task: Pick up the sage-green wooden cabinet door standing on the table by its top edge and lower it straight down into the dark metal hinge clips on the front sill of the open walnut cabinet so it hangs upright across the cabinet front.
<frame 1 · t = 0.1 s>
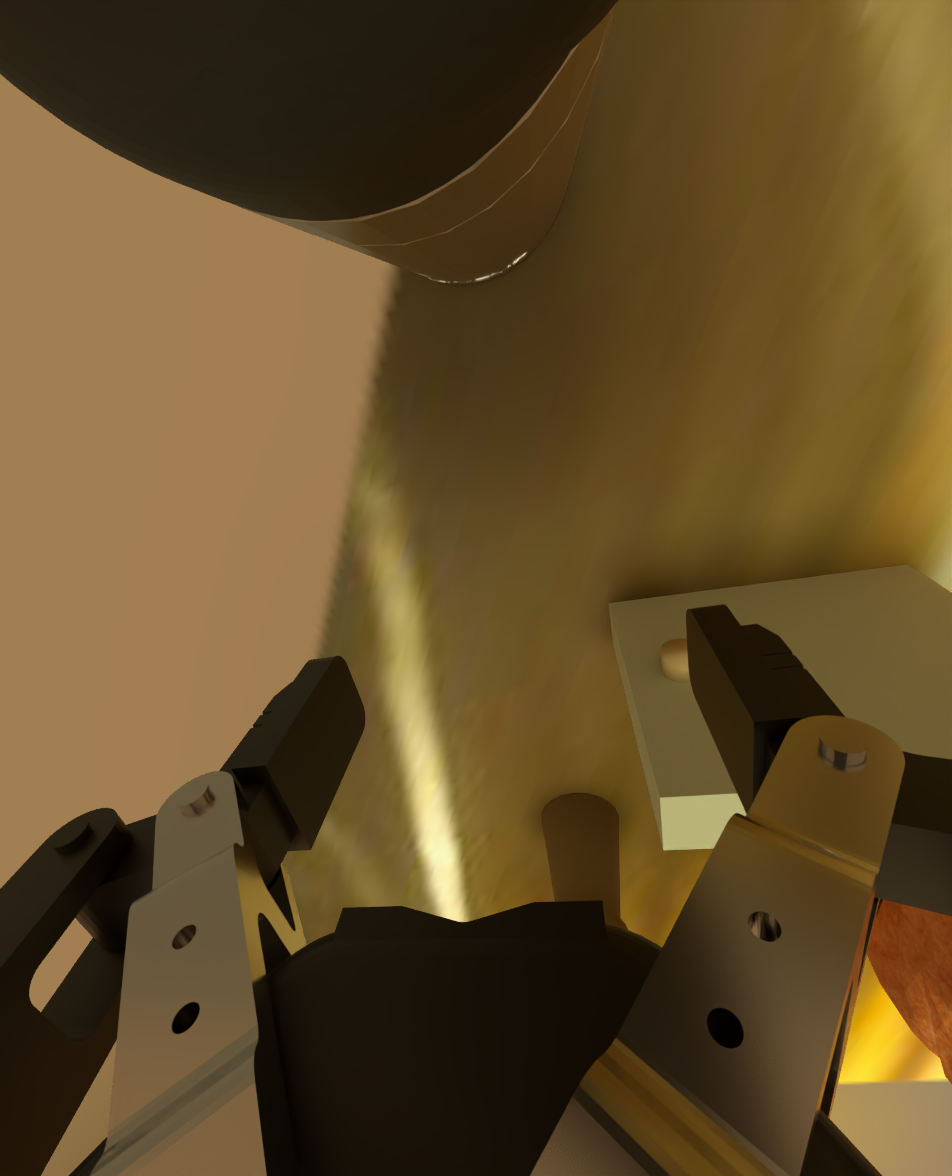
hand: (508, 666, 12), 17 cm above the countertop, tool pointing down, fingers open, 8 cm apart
door: (749, 606, 29), on the countertop
cork: (579, 816, 40), on the countertop
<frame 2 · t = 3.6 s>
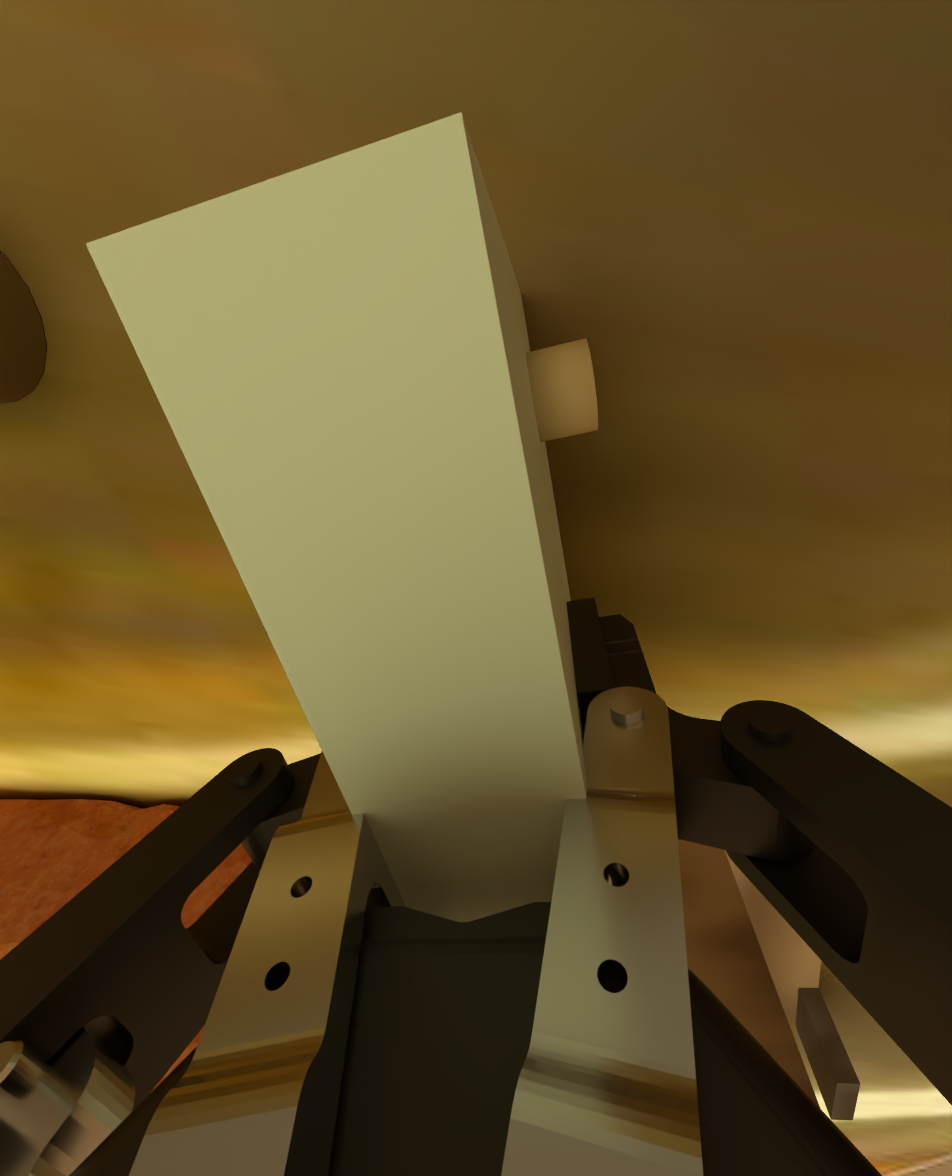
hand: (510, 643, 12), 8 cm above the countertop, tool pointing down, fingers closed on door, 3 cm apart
door: (520, 536, 19), on the countertop, touching gripper
bread: (187, 864, 32), on the countertop
cabinet: (592, 904, 29), on the countertop
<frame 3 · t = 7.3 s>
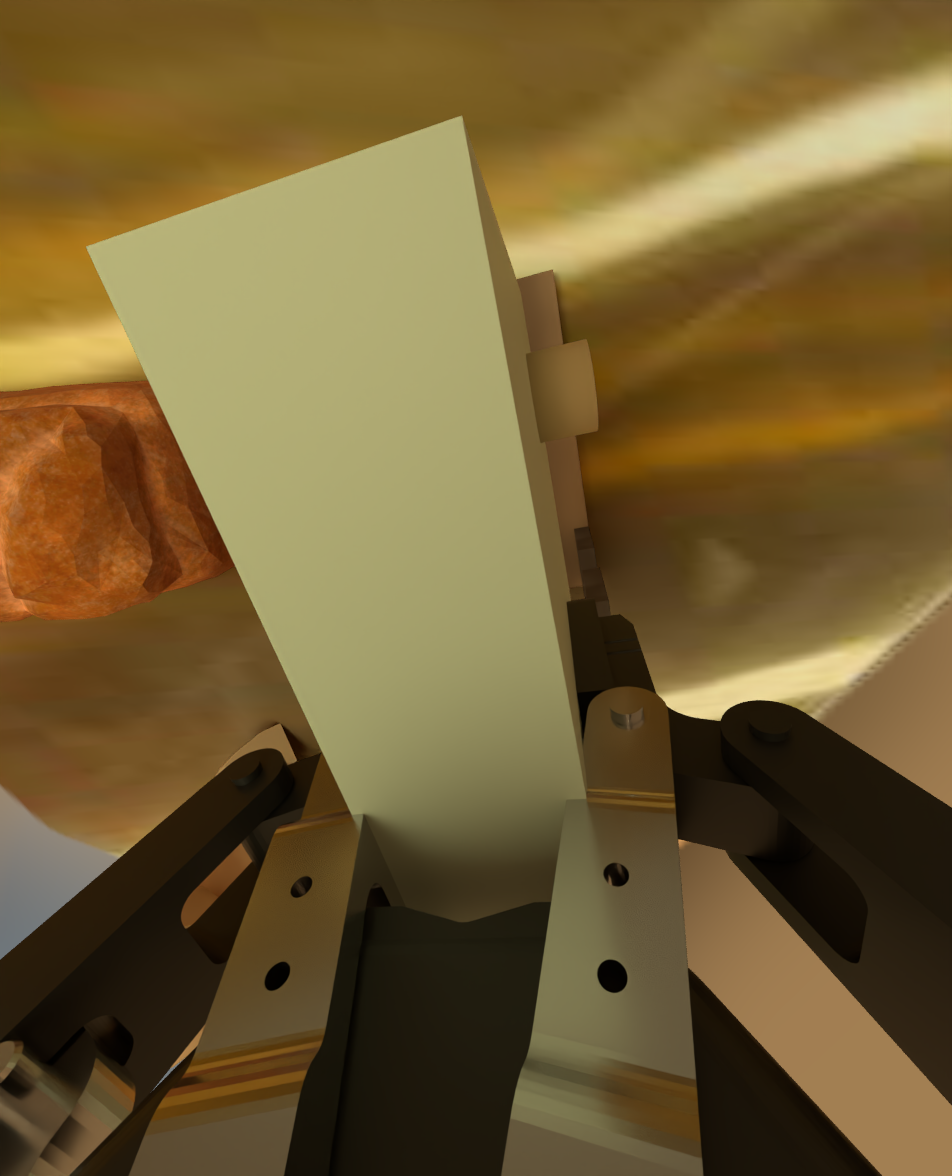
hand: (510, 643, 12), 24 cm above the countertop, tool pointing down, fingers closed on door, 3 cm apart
door: (520, 536, 19), point 17 cm above the countertop, touching gripper
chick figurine: (337, 803, 53), on the countertop
bread: (97, 480, 39), on the countertop
cabinet: (414, 476, 36), on the countertop
when the fingers open (11 cm above the countertop, at t = 11.2 s): door drops 1 cm, resting on cabinet.
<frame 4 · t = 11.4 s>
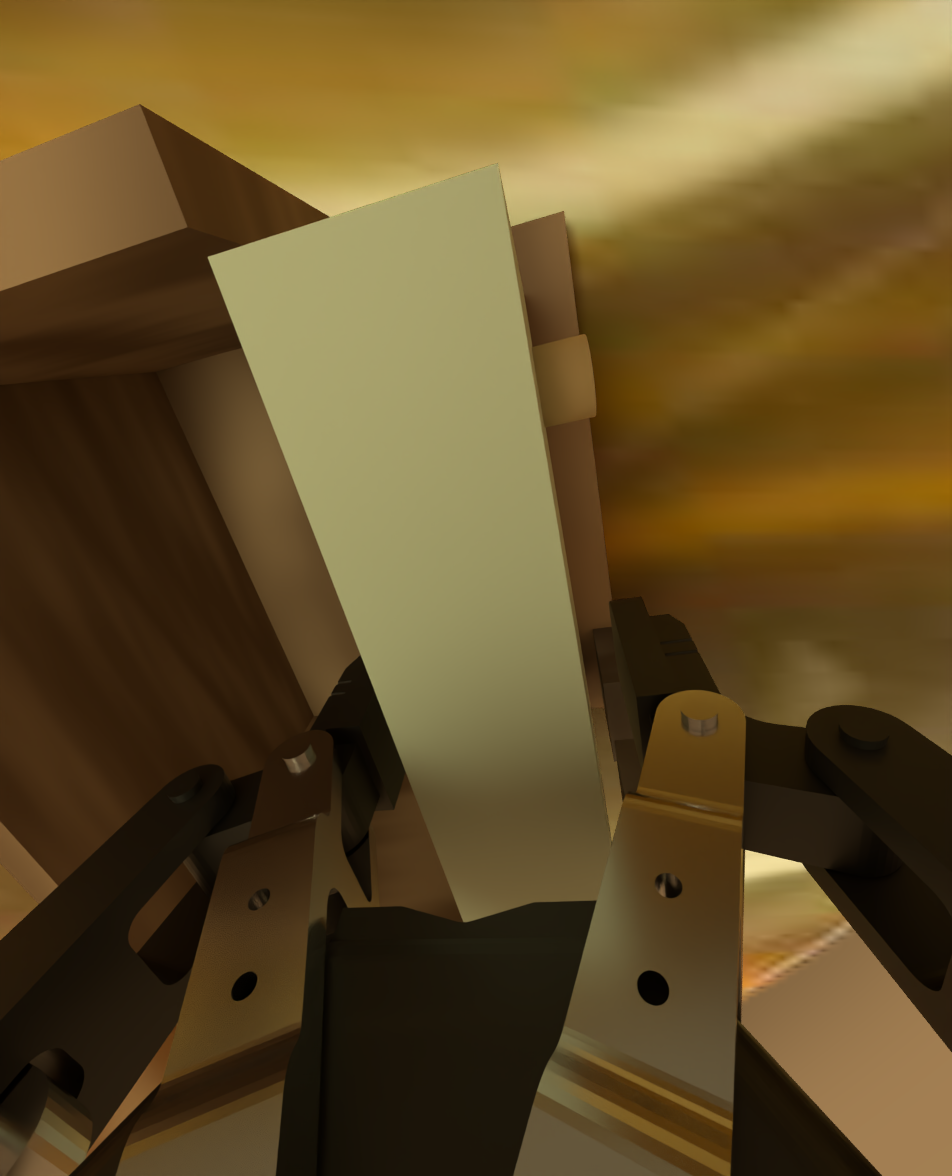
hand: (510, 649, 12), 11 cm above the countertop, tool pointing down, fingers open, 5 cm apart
door: (523, 522, 21), point 2 cm above the countertop, touching cabinet
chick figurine: (275, 941, 40), on the countertop
cabinet: (349, 544, 23), on the countertop
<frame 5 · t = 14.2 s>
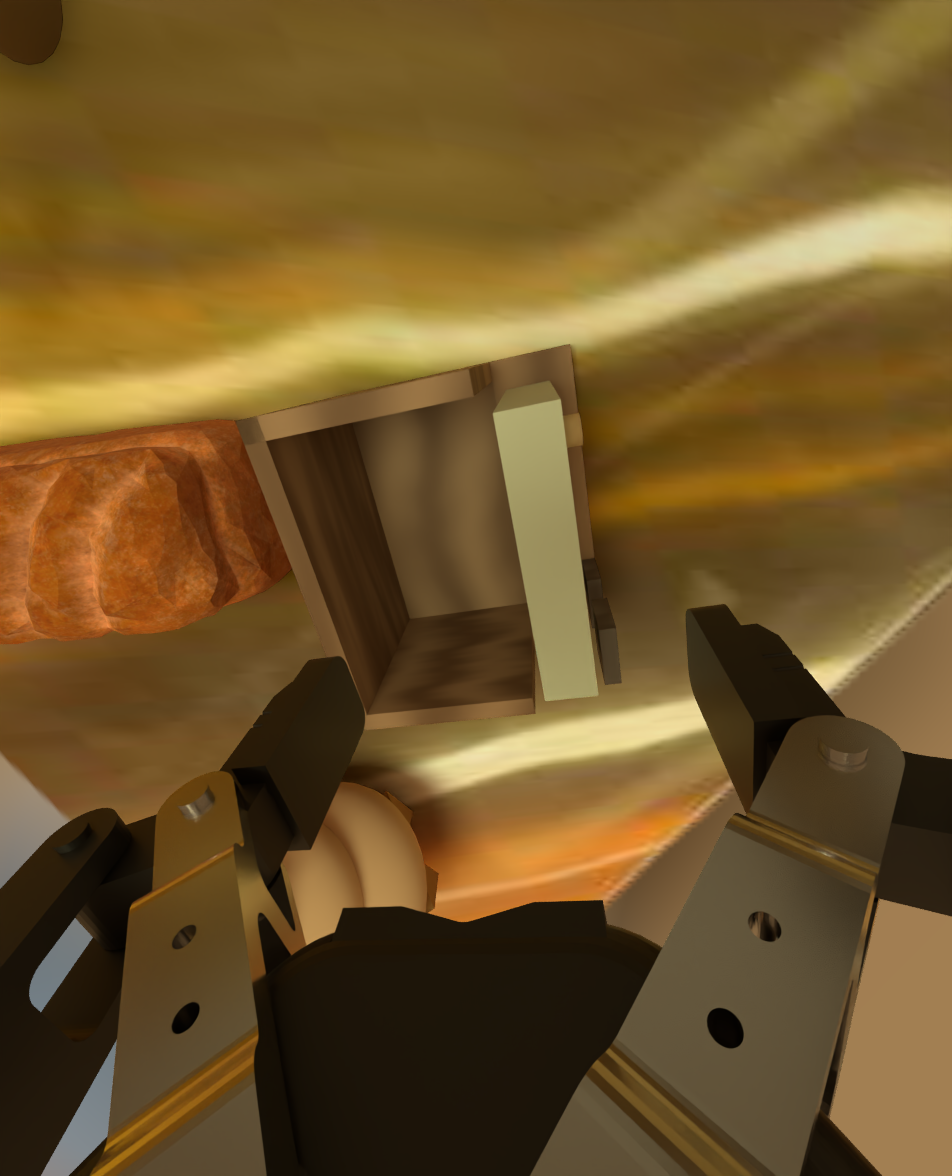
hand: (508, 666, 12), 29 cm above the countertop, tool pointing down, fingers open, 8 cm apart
door: (544, 496, 38), point 1 cm above the countertop, touching cabinet
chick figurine: (354, 803, 57), on the countertop
bread: (151, 510, 43), on the countertop
cabinet: (441, 510, 40), on the countertop
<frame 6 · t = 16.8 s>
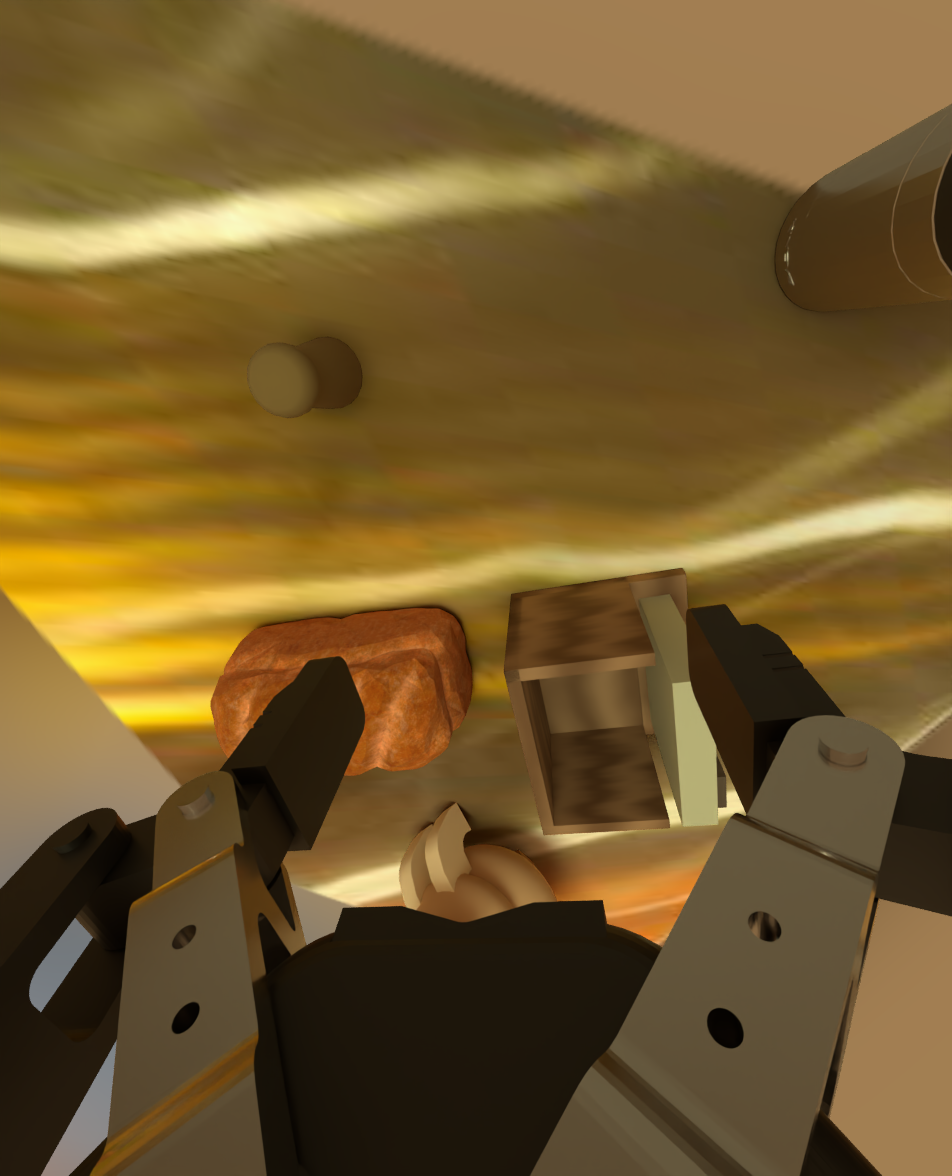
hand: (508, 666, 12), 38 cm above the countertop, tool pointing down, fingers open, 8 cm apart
door: (659, 661, 53), point 1 cm above the countertop, touching cabinet
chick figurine: (486, 854, 73), on the countertop
cork: (330, 373, 46), on the countertop
bread: (362, 658, 60), on the countertop
cabinet: (580, 663, 56), on the countertop
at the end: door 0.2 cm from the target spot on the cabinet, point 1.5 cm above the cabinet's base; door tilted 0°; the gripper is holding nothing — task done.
